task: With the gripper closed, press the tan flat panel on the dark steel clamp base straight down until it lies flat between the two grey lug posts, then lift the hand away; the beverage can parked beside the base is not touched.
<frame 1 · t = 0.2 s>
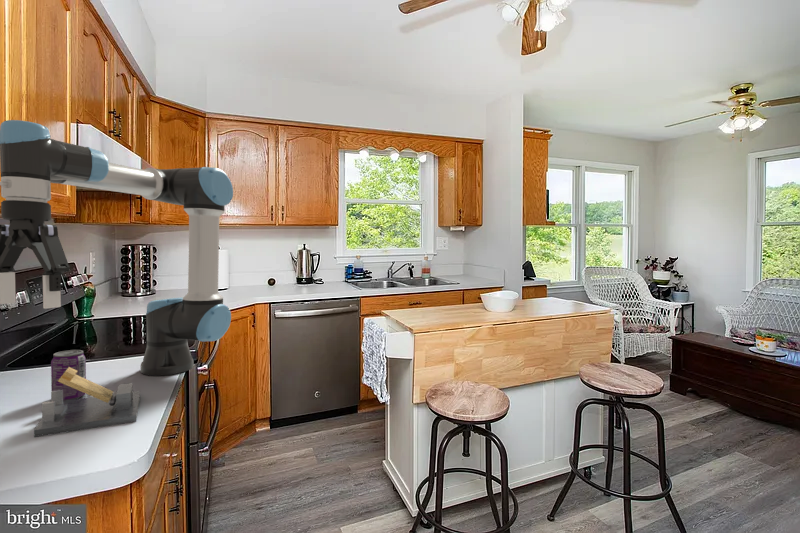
hand: (29, 305, 86), 28 cm above the table, fingers open, 13 cm apart
beverage can: (69, 398, 110), on the table
clamp base: (93, 414, 100), on the table
tan flat panel: (91, 385, 99), point 7 cm above the table, hinge at 35.0°
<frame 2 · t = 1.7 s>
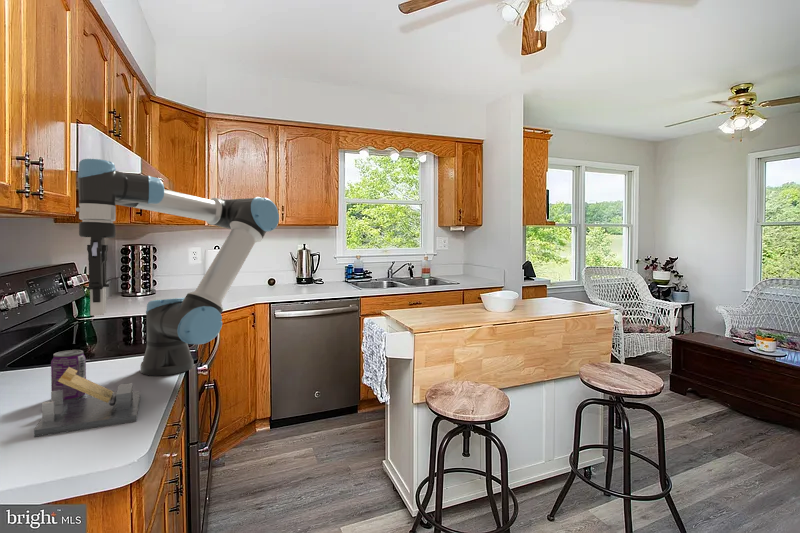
hand: (98, 313, 107), 23 cm above the table, fingers open, 4 cm apart
nothing on the table moved.
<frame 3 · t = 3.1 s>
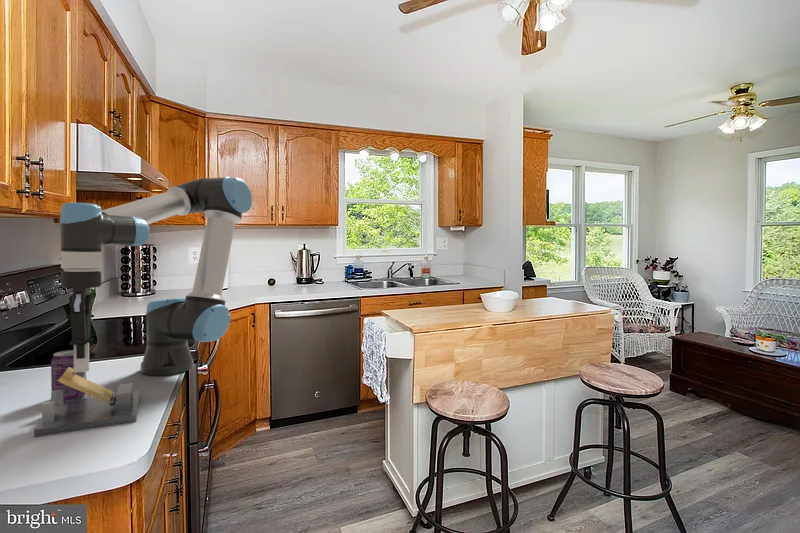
hand: (81, 371, 98), 11 cm above the table, fingers closed
tan flat panel: (91, 385, 99), point 7 cm above the table, hinge at 34.9°, touching gripper
everything else where it was.
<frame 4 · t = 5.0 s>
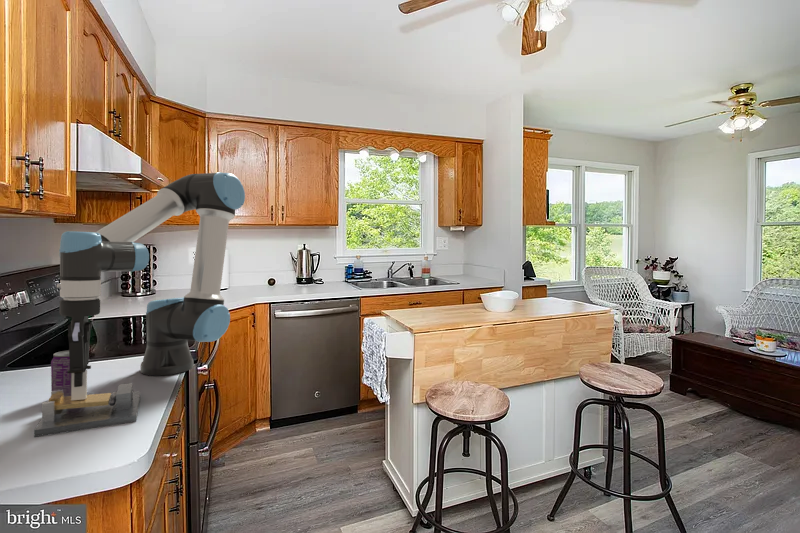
hand: (79, 398, 98), 4 cm above the table, fingers closed
tan flat panel: (84, 398, 99), point 4 cm above the table, hinge at 3.1°, touching gripper
everything else where it was.
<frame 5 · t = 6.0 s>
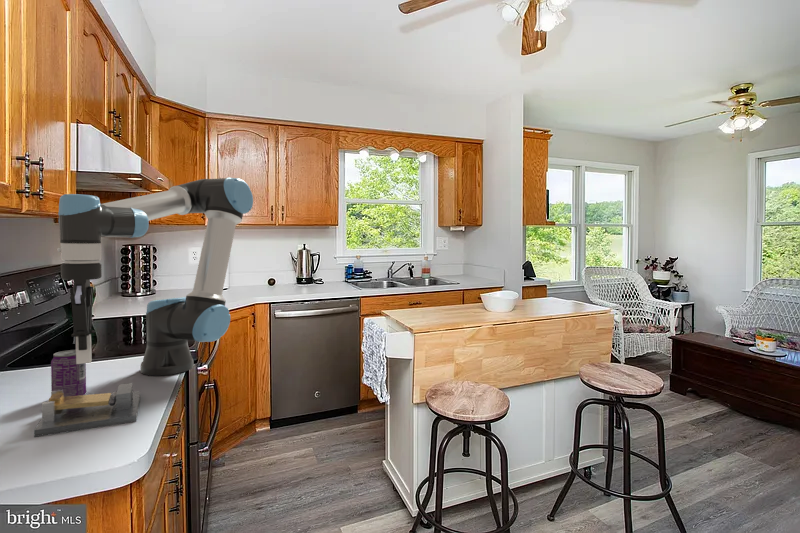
hand: (84, 362, 98), 13 cm above the table, fingers closed
tan flat panel: (84, 398, 99), point 4 cm above the table, hinge at 3.0°
everything else where it was.
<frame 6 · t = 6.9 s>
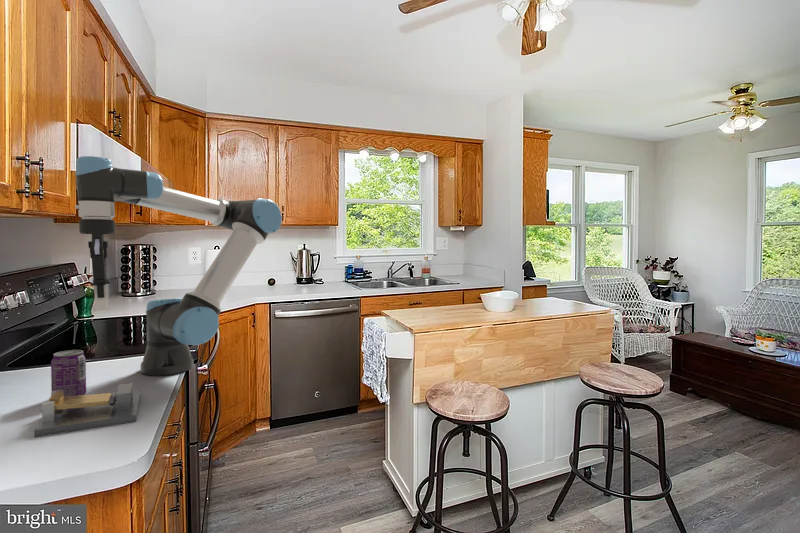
hand: (101, 309, 109), 23 cm above the table, fingers closed
nothing on the table moved.
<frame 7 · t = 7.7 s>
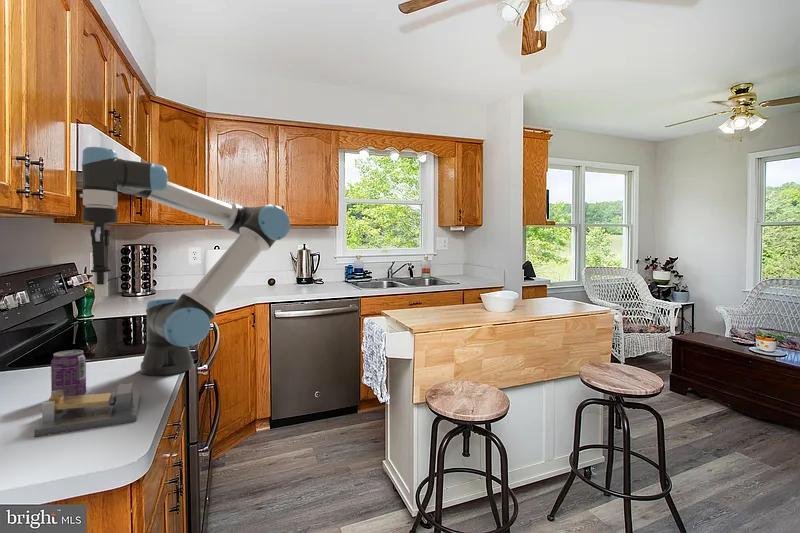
hand: (101, 296, 112), 26 cm above the table, fingers closed
nothing on the table moved.
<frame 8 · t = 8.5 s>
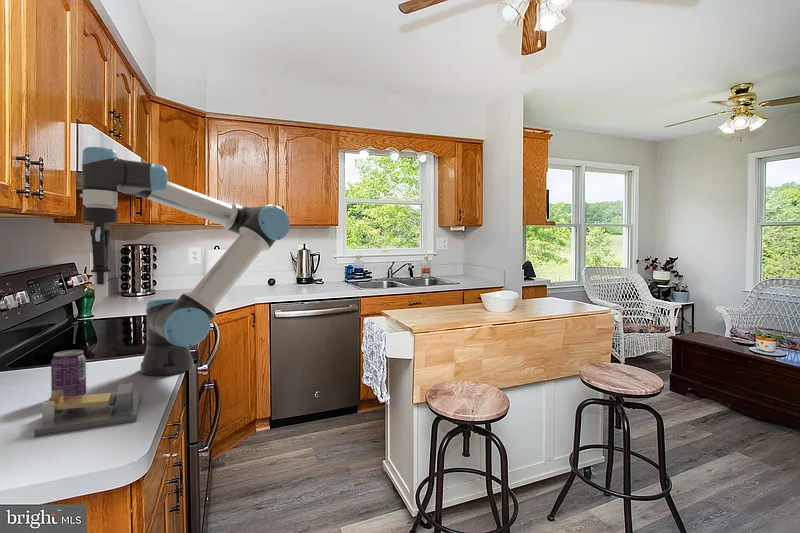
hand: (101, 296, 112), 26 cm above the table, fingers closed
nothing on the table moved.
at the end: tan flat panel at +3° (first picture: +35°); beverage can moved 0.2 cm from its start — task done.
